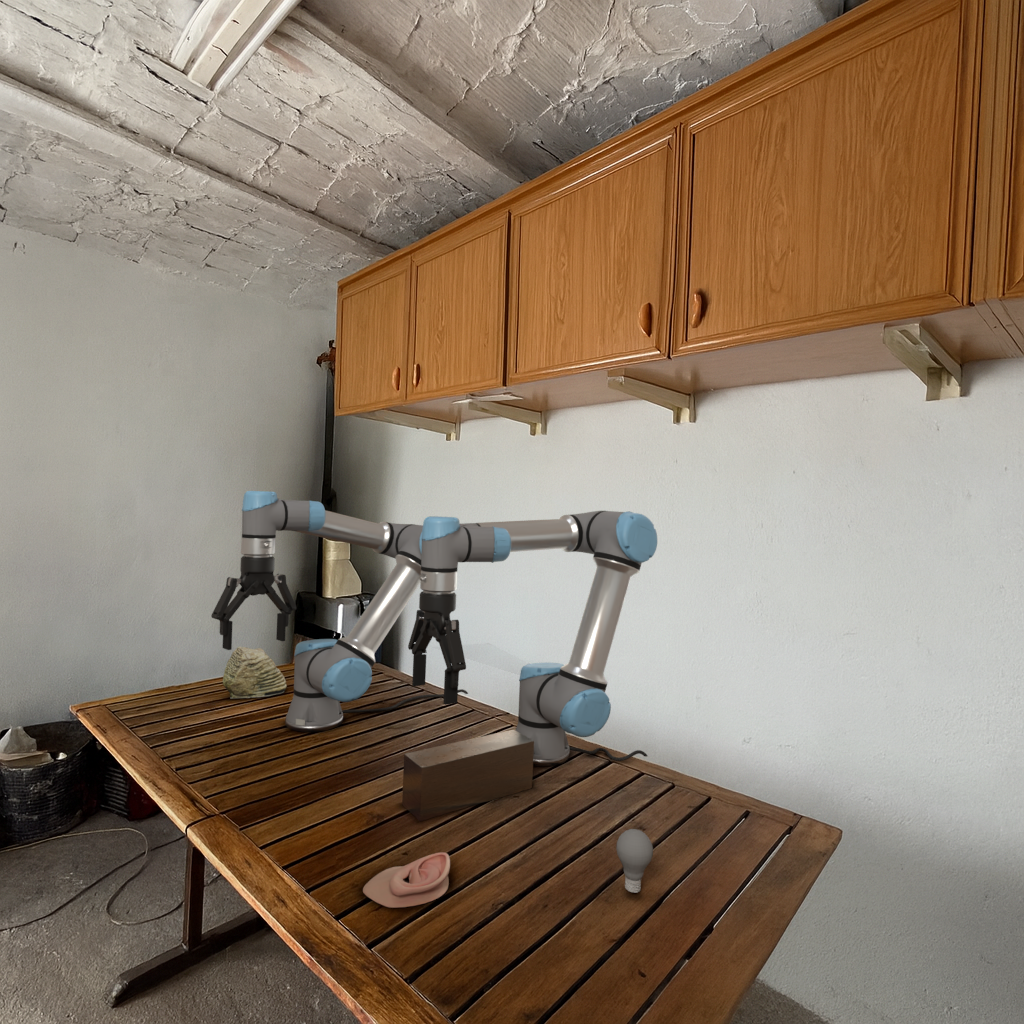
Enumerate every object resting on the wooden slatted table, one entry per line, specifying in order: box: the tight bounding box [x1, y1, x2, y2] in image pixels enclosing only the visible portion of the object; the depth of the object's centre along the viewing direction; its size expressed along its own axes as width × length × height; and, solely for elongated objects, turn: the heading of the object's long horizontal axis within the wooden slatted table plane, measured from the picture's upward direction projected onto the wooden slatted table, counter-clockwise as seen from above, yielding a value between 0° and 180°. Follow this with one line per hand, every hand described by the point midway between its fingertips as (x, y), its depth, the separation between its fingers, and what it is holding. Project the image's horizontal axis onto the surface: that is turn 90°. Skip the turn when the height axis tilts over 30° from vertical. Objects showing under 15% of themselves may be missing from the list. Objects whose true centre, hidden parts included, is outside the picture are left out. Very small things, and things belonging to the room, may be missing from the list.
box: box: [401, 729, 534, 822], centre depth 137 cm, size 28×8×11 cm, turn 126°
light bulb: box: [615, 828, 654, 894], centre depth 106 cm, size 6×6×10 cm
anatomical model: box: [362, 851, 451, 909], centre depth 104 cm, size 13×4×12 cm
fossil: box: [222, 646, 288, 699], centre depth 198 cm, size 9×18×15 cm, turn 132°
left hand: (254, 644), depth 151 cm, fingers open, 13 cm apart
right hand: (433, 694), depth 131 cm, fingers open, 13 cm apart
